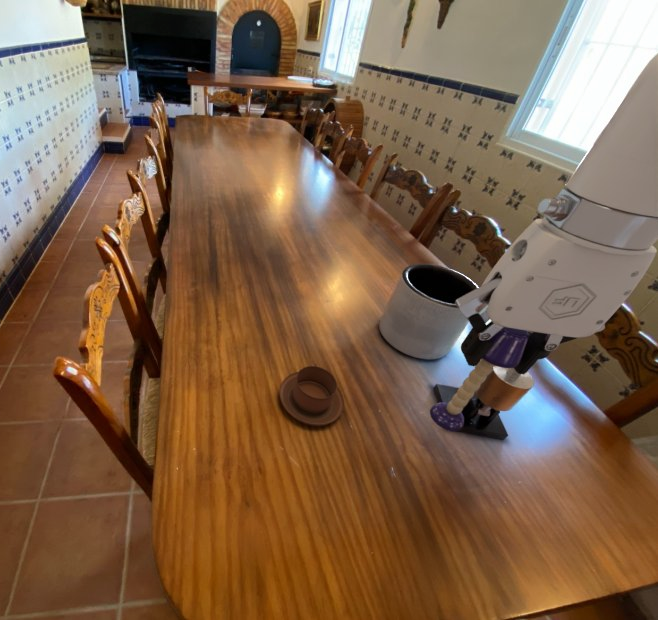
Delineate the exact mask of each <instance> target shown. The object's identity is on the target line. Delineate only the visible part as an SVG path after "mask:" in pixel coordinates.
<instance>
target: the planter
mask: <svg viewBox="0 0 658 620" xmlns="http://www.w3.org/2000/svg"><path fill="white" fill-rule="evenodd" d="M479 287H480V286H479V285H477V283H475V282H474V281H473V280H472V279H470V278H469V277H467V276H466V275H464V274H463V273H460V272H459V271H456V270H454V269H452V268H449V267H445V266H443V265H438V264H434V263H413V264H410V265H408V266H406V267H404V268H403V269H402V271H401V273H400V276H399V278H398V280H397V282H396V285H395V286H394V289H393V291H392V293H391V296H390V298H389V300H388V302H387V303H386V306H385V308H384V310H383V312H382V314H381V316H380V319H379V323H378V328H379V332H380V333H381V335H382V336H383V338H384V339H385V341H386V342H387V343H388V344H389V345H390V346H392V347H393V348H394V349H396V350H398V351H399V352H401V353H402V354H405V355H407V356H410V357H413V358H416V359H420V360H421V359H422V360H437V359H442V358H444V357H445V356H446V355H448V354H449V353H450V352H451V350H452V349H453V348H454V346H455V344H456V343H457V341H458V340H459V338H460V337H461V335H462V333H463V332H464V330H465V328H466V327H467V326H468V324H469V323H470V322H469V320H468V319H467V318H465V316H464V315H463V314H462V313H461V312H460V311H459V309H458V308H457V306H456V304H455V301H456V300H457V299H458V298H460V297H462V296H464V295H466V294H467V293H469V292H471V291H473V290H475V289H477V288H479ZM479 307H480V306H478V307H477V308H476V309H477V310H478V309H479Z"/></svg>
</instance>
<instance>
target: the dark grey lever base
mask: <svg viewBox="0 0 658 620" xmlns="http://www.w3.org/2000/svg"><path fill="white" fill-rule="evenodd" d="M458 389H459V387H457V386H452V385H445V384H440V383H436V384H435V385H434V387H433V392H434V395H435V398H436V401H437V403H442V402H444V403H449V402H450V401H451V400H452V398H453V396H454V395H455V394H456V393H457V391H458ZM480 402H481V400H480V399H479V398H478V397H477V395H476V394H475V392H474V395H473V397H472V398H471V399H469V400H468V403H467V405H465V406H464V407H463V409H462V411H461V413H462V414H463V417H464V424H463V427H462V428H461V429H460V430H458V431H457V432H458V433H465V434H470V435H475V436H480V437H485V438H492V439H497V440H501V441H502V440H503V441H504V440H505V439H507V438H508V437H509V433H508V431H507V429H506V428H505V425H504V423H503V421H502V418H501V417H500V415H499V414H500V413H501V411H498V410H495V409H493V408H491V410H490V415H489V416H481V415H476V413H477V412H478V410H479V409H480V408H479V405H478V404H479V403H480Z"/></svg>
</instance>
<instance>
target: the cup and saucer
mask: <svg viewBox="0 0 658 620" xmlns="http://www.w3.org/2000/svg"><path fill="white" fill-rule="evenodd" d="M344 398H345V397H344V395H343V393H342V390H341V389H340V388H339V387H338V382H337V379H336V378H335V376H334V375H333V374H332V373H331V372H330V371H329V370H327V369H325V368H324V367H320V366H319V363H318V362H316V363H314V365H308V366H305V367H302V368H301V369H300V370H299V371H296V372H292V373H290V374H289V375H287V376H286V377H285V378H284V379H283V380H282V382H281V384H280V386H279V399H280V403H281V405H282V407H283V408H284V410H285V411H286V412H287V413H288V414H289V415H290V416H291V417H292V418H293V419H295V420H297V421H298V422H300V423H303V424H306V425H310V426H315V427H321V426H322V427H323V426H327V425H330V424H332V423H334V422H335V421H337V420H338V419H339V418H340V417H341V416H342V414H343V412H344V409H345V399H344Z"/></svg>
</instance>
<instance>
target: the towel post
mask: <svg viewBox="0 0 658 620" xmlns="http://www.w3.org/2000/svg"><path fill="white" fill-rule="evenodd" d="M551 353H552V351H547V350H546V351H545V353H544V354H543V355H542V356H541V357H540V358H539V359H538V360H544V359H545V358H547V357H549V356H550V355H551ZM538 360H537V361H538ZM534 386H535V379H534V377H533V375H532V374H531V373H530V372H529V370H528V371H527V372H526V373H525V374H518V373H517V372H516V371H515V369H514V368H502V367H498V366H495V367H493V371H492V372H491V373H490V374H489V375H487V377H486V379H485V381H484V382H483V383H481V384H480V387H479V389H478V390H477V391H475V394H476V395H477V397H478V398H479V399H480V400H481V402H480V403H479V404H478V405H479V408H480V409H479V410H478V412H477V413H476V415H481V416H489V415H490V410H491V408H493V409H495V410H498V411H500V412H509V411H511V410H513V408H514V407H515V406H516V405H518V403H519V402H520V401H521V400H522V399H523V398H524V397H525V396H526V395H527V394H528V393H529V392H530V390H531V389H533V387H534Z"/></svg>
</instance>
